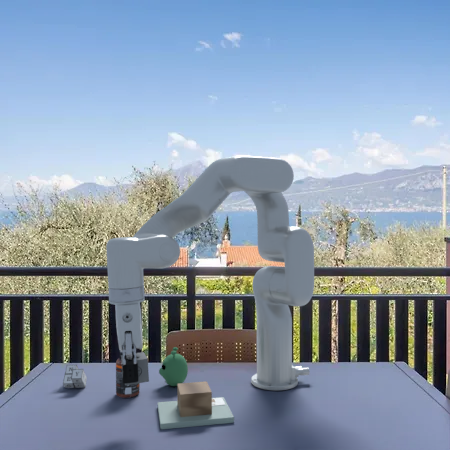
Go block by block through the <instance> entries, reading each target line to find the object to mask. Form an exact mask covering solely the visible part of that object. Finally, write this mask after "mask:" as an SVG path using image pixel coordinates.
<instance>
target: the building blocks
mask: <svg viewBox="0 0 450 450" xmlns="http://www.w3.org/2000/svg"><path fill="white" fill-rule="evenodd" d="M87 379H88V376H87V375H86V372H85V370H84V368H79V367H78V364H66V367H65V372H64V377H63V380H62V381H63V382H62V386H63V387H64V389H81V388H82V389H83V388H84V389H85V388H86V386H87V381H88V380H87Z"/></svg>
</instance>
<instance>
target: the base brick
mask: <svg viewBox="0 0 450 450" xmlns="http://www.w3.org/2000/svg"><path fill="white" fill-rule="evenodd" d="M176 387H177V390H176V391H177V393H176V394H177V400H176V401H177V402H178V409H179V413H180V417H188V416H199V415H210V414H212V398H213V396H212V394H213V393H212V389H211V387H210V385H209V383H208V381H196V382H195V381H194V382H183V383H179V384H177V386H176Z"/></svg>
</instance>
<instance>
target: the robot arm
mask: <svg viewBox="0 0 450 450" xmlns="http://www.w3.org/2000/svg"><path fill="white" fill-rule="evenodd" d="M293 181H294V169H293V167H292V165H291V164H290V163H289V162H288V161H286V160H285V159H282V158H277V157H263V156H255V155H254V156H253V155H236V156H235V155H233V156H230V157H223V158H219V159H216V160H214V161H213V162H211V163H210V164H209V165H208V166H207V167H206V169H205V170H203V171H202V173H201V174H200V175H199V176H198V177H197V178H196V179H195V180H194V181H193V182H192V183H191V185H190V186H189V187H187V189H186V190H185V191H184V192H183V193H181V195H180V196H178V197H177V198H175V199H174V200H173V201H172V202H171V201H170V203H169V204H168V205H166V206H164V207H163V208H161V210H159V211H158V212H156V213H155V214H153V215H152V216H151V217H150V218H149V219H148V220H147V221H146V222H145V223H144V224H143V225H142V226H141V227H140V228H139V229H138V230H137V231H136V232H135V233H134V235H133V236H132V237H131V236H125V237H124V236H123V237H122V236H121V237H114V238H110V239H108V241H107V242H106V246H105V247H106V249H105V250H106V263H107V269H106V270H107V282H108V283H107V284H108V285H107V286H108V303H109V304H110V305H115V306H114V307H115V324H116V325H115V328H116V335H117V343H118V349H119V352H120V351H122V350H123V351H122V352H123V364H122V372H123V383H124V384H126V383H135V382H138V363H136V353H137V349H139V350H140V351H141V350H142V349H143V328H142V327H143V326H142V325H143V323H142V322H143V321H142V310H141V303H144V301H145V297H146V296H145V281H144V279H145V278H144V269H168V268H170V267H172V266H173V265H174V264H175V263H176V262H177V261H178V260H179V258H180V256H181V248H180V245H179V243H178V241H177V240H176V239H175V238H174V237H175V236H177V235H178V234H180V233H182V232H184V231H186V230H189V229H191V228H194V227H196V226H199V225H201V224H202V223H205V222H206V221H208V220H209V219H210V218H211V217H212V215H213V214H214V213H215V212H216V211H217V210H218V208H219V207H220V206H222V203H223V202H224V201H225V200H227V198H228V197H229V196H230V194H232V193H234V192H235V193H238V192H239V193H240V192H244V193H245V194H247V196H248V197H249V198H250V199H251V201H252V202H253V203H254V205H255V208H256V210H255V211H256V215H257V217H256V218H257V224H256V225H257V227H256V228H257V251H258V252H257V253H258V254H259V256H260V258H261V259H263V260H265V261H269V262H274V263H284V266H275V265H268V266H264V267H262V268H260V269H258V270H257V271H256V273H255V274H254V276H253V279H252V291H253V298H254V302H255V311H256V312H255V313H256V373H254V374H253V375H252V376H251V377H250V381H251V382H250V383H251V384H252V385H253V386H254V387H256V388H258V389H261V390H266V391H285V390H286V391H287V390H290V389H293V388H296V387H297V386H298V385H299V378H298V377H299V376H310V374H311V373H310V368H309V367H302V365H300V366H294V365H293V344H292V343H293V335H292V331H293V328H292V327H293V319H292V313H291V309H290V306H292V307H304V306H305V305H307V304H308V303H309V302H310V301H311V299H312V297H313V294H314V290H315V246H314V242H313V239H312V236H311V235H310V233H309V232H308V231H307V230H306V229H305V228H302V227H301V226H290V218H289V217H290V216H289V213H290V212H289V207H288V202H287V200H286V198H285V196H284V194H283V193H284V192H286V191H287V190H289V188H290V187H291V186H292V184H293Z"/></svg>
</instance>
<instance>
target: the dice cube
mask: <svg viewBox="0 0 450 450" xmlns="http://www.w3.org/2000/svg"><path fill="white" fill-rule="evenodd" d="M121 360H122V364H123V355H121ZM136 363H138V382H135V383H126V384H125V386H126V385H132V384H138V383H140V384H142V383H147V382H148V383H149V382H150V375H149V358H148V357H147V355H146V353H145V352H144V351H141V352H136ZM122 376H123V372H122Z"/></svg>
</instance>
